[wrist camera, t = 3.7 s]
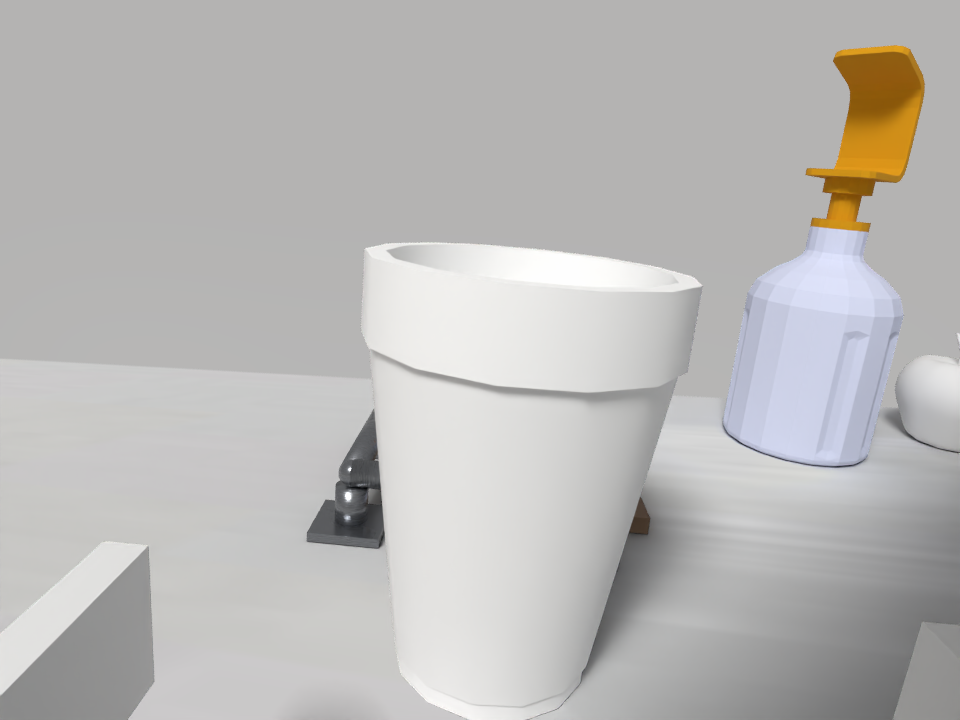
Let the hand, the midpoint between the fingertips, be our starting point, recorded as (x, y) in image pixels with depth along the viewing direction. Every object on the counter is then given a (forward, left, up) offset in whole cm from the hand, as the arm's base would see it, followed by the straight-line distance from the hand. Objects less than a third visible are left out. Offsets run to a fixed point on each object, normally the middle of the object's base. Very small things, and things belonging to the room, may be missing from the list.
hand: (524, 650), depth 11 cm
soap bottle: (-20, -33, -8) cm, 40 cm away
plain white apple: (-32, -36, -8) cm, 49 cm away
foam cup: (0, -9, -8) cm, 12 cm away
